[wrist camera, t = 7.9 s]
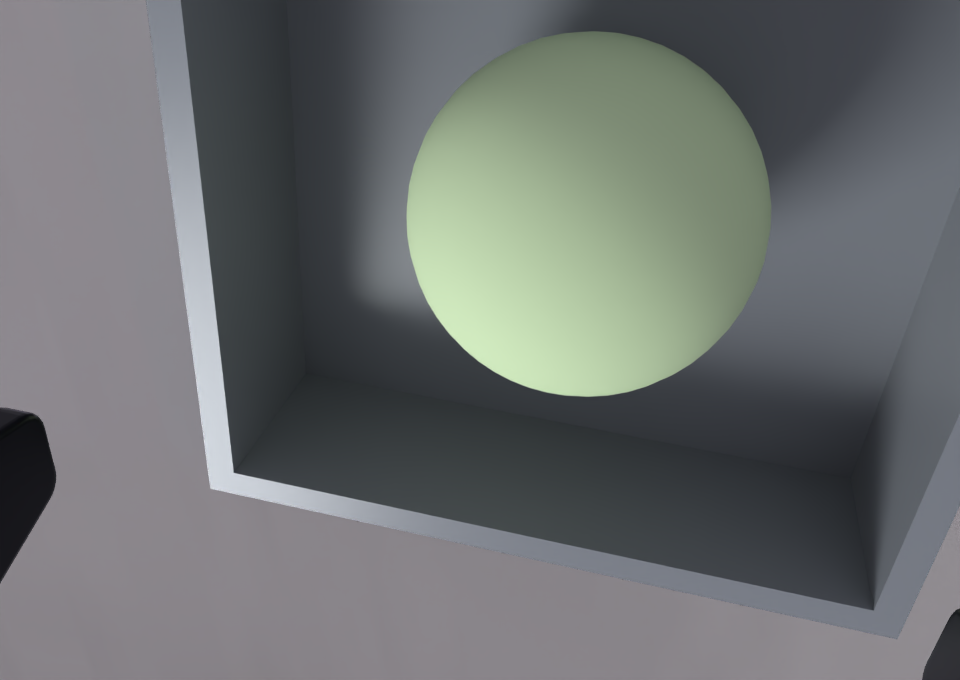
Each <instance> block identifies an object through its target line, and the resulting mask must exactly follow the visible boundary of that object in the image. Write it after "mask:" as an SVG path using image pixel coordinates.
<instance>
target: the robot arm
mask: <svg viewBox="0 0 960 680" xmlns="http://www.w3.org/2000/svg"><path fill="white" fill-rule="evenodd" d="M55 483H56V471H55V466H54V463H53V459H52V455H51V451H50V447H49V443H48V439H47V435H46V431H45V427H44V424H43V422H42V421H41V419H40V418H39V417H38V416H37V415H35V414H33V413H29V412H25V411H20V410H15V409H10V408H0V583H1V581H2V579H3V578H4V576H5V574H6V573H7V571H8V569H9V567H10V566H11V564H12V562H13V561H14V559H15V557H16V556H17V554H18V552H19V551H20V549H21V547H22V546H23V544H24V542H25V540H26V539H27V537H28V535H29V534H30V532H31V530H32V529H33V527H34V525H35V524H36V522H37V520H38V519H39V517H40V515H41V514H42V512H43V510H44V508H45V507H46V505H47V503H48V502H49V500H50V498H51V496H52V494H53V491H54V488H55ZM922 680H960V609H957V610H956V611H955V612H954V613H953V614H952V615H951V617H950V618H949V620H948V622H947V624H946V626H945V628H944V630H943V632H942V634H941V636H940V638H939V640H938V642H937V644H936V646H935V648H934V650H933V652H932V654H931V656H930V658H929V660H928V662H927V664H926V666H925V669H924V673H923V678H922Z"/></svg>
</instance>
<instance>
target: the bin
mask: <svg viewBox="0 0 960 680" xmlns="http://www.w3.org/2000/svg"><path fill="white" fill-rule="evenodd" d="M146 5H147V12H148V20H149V28H150V35H151V43H152V50H153V58H154V65H155V73H156V81H157V88H158V96H159V103H160V111H161V118H162V126H163V134H164V141H165V149H166V156H167V164H168V171H169V179H170V187H171V194H172V202H173V209H174V217H175V224H176V232H177V240H178V247H179V255H180V262H181V270H182V277H183V285H184V293H185V300H186V308H187V315H188V323H189V330H190V338H191V346H192V353H193V361H194V368H195V376H196V383H197V391H198V399H199V406H200V414H201V421H202V429H203V436H204V444H205V452H206V459H207V467H208V474H209V482H210V489H215V490H219V491H224V492H228V493H233V494H237V495H242V496H247V497H251V498H256V499H260V500H265V501H269V502H274V503H278V504H283V505H288V506H292V507H297V508H301V509H306V510H310V511H315V512H319V513H324V514H329V515H333V516H338V517H342V518H347V519H351V520H356V521H361V522H365V523H370V524H374V525H379V526H383V527H388V528H392V529H397V530H402V531H406V532H411V533H415V534H420V535H424V536H429V537H433V538H438V539H443V540H447V541H452V542H456V543H461V544H465V545H470V546H474V547H479V548H484V549H488V550H493V551H497V552H502V553H506V554H511V555H516V556H520V557H525V558H529V559H534V560H538V561H543V562H547V563H552V564H557V565H561V566H566V567H570V568H575V569H579V570H584V571H588V572H593V573H598V574H602V575H607V576H611V577H616V578H620V579H625V580H630V581H634V582H639V583H643V584H648V585H652V586H657V587H661V588H666V589H671V590H675V591H680V592H684V593H689V594H693V595H698V596H702V597H707V598H712V599H716V600H721V601H725V602H730V603H734V604H739V605H744V606H748V607H753V608H757V609H762V610H766V611H771V612H775V613H780V614H785V615H789V616H794V617H798V618H803V619H807V620H812V621H816V622H821V623H826V624H830V625H835V626H839V627H844V628H848V629H853V630H857V631H862V632H867V633H871V634H876V635H880V636H885V637H889V638H894V639H898V636H899V634H900V632H901V630H902V628H903V626H904V624H905V622H906V619H907V617H908V615H909V613H910V611H911V609H912V607H913V604H914V602H915V600H916V598H917V596H918V594H919V592H920V590H921V587H922V585H923V583H924V581H925V579H926V577H927V575H928V572H929V570H930V568H931V566H932V564H933V562H934V560H935V557H936V555H937V553H938V551H939V549H940V547H941V545H942V543H943V540H944V538H945V536H946V534H947V532H948V530H949V528H950V525H951V523H952V521H953V519H954V517H955V515H956V513H957V510H958V508H959V506H960V0H146ZM588 31H599V32H613V33H621V34H626V35H630V36H635V37H640V38H643V39H646V40H649V41H652V42H654V43H657V44H660V45H663V46H665V47H667V48H669V49H671V50H673V51H675V52H677V53H679V54H681V55H683V56H684V57H686V58H687V59H689V60H690V61H692V62H693V63H695V64H696V65H697V66H699V67H700V68H702V69H703V70H704V71H706V72H707V73H708V74H709V75H710V76H711V77H712V78H713V79H714V80H715V81H716V82H717V83H718V84H719V85H721V86H722V88H723V89H724V90H725V91H726V92H727V94H728V95H729V96H730V97H731V99H732V100H733V101H734V102H735V104H736V105H737V106H738V107H739V108H740V110H741V112H742V113H743V115H744V117H745V118H746V120H747V122H748V123H749V125H750V127H751V128H752V130H753V132H754V135H755V137H756V140H757V142H758V144H759V147H760V149H761V152H762V155H763V159H764V163H765V167H766V171H767V175H768V180H769V188H770V198H771V229H770V234H769V240H768V245H767V250H766V255H765V261H764V264H763V267H762V270H761V272H760V275H759V278H758V281H757V283H756V285H755V287H754V289H753V291H752V293H751V295H750V297H749V299H748V301H747V303H746V304H745V306H744V308H743V310H742V312H741V313H740V314H739V316H738V317H737V319H736V320H735V321H734V323H733V324H732V325H731V327H730V328H729V329H728V331H727V332H726V333H725V334H724V335H723V336H722V337H721V338H720V339H719V340H718V341H717V342H716V343H715V344H714V345H713V346H712V347H711V348H710V349H709V350H708V351H707V352H705V353H704V354H703V355H702V356H700V357H699V358H698V359H697V360H695V361H694V362H693V363H692V364H690V365H688V366H687V367H685V368H683V369H682V370H680V371H678V372H677V373H675V374H673V375H671V376H669V377H667V378H665V379H662V380H660V381H658V382H656V383H653V384H651V385H649V386H646V387H643V388H640V389H636V390H633V391H630V392H625V393H620V394H614V395H608V396H591V397H585V396H566V395H559V394H553V393H547V392H543V391H539V390H536V389H532V388H529V387H526V386H523V385H521V384H518V383H516V382H513V381H511V380H509V379H507V378H505V377H503V376H501V375H499V374H497V373H495V372H494V371H492V370H491V369H489V368H488V367H486V366H485V365H483V364H482V363H480V362H479V361H478V360H476V359H475V358H474V357H473V356H472V355H470V354H469V353H468V352H467V351H466V350H464V349H463V347H462V346H461V345H460V344H459V343H458V342H457V341H456V340H455V339H454V338H453V337H452V336H451V335H450V334H449V333H448V331H447V330H446V329H445V328H444V326H443V325H442V324H441V322H440V321H439V320H438V318H437V317H436V315H435V314H434V312H433V310H432V309H431V307H430V305H429V304H428V302H427V300H426V298H425V296H424V293H423V291H422V289H421V287H420V285H419V282H418V279H417V275H416V272H415V269H414V266H413V262H412V259H411V255H410V249H409V243H408V237H407V201H408V190H409V183H410V179H411V175H412V171H413V166H414V163H415V161H416V158H417V155H418V153H419V150H420V147H421V145H422V142H423V140H424V137H425V135H426V133H427V131H428V130H429V128H430V126H431V124H432V123H433V121H434V119H435V117H436V116H437V114H438V113H439V112H440V111H441V109H442V108H443V107H444V105H445V104H446V103H447V102H448V100H449V99H450V98H451V96H452V95H453V94H454V93H455V91H456V90H457V89H458V88H459V87H460V86H461V85H462V84H463V83H464V82H465V81H467V80H468V79H469V78H470V77H471V76H472V75H473V74H474V73H476V72H477V71H478V70H480V69H481V68H483V67H484V66H485V65H487V64H488V63H489V62H491V61H492V60H494V59H496V58H497V57H499V56H501V55H503V54H505V53H507V52H508V51H510V50H512V49H514V48H516V47H518V46H520V45H523V44H526V43H529V42H531V41H534V40H537V39H540V38H544V37H548V36H553V35H558V34H563V33H573V32H588Z"/></svg>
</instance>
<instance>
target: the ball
mask: <svg viewBox="0 0 960 680" xmlns="http://www.w3.org/2000/svg"><path fill="white" fill-rule="evenodd" d="M770 229H771V198H770V188H769V180H768V175H767V171H766V167H765V163H764V159H763V155H762V152H761V149H760V147H759V144H758V142H757V140H756V137H755V135H754V132H753V130H752V128H751V127H750V125H749V123H748V122H747V120H746V118H745V117H744V115H743V113H742V112H741V110H740V108H739V107H738V106H737V105H736V104H735V102H734V101H733V100H732V99H731V97H730V96H729V95H728V94H727V92H726V91H725V90H724V89H723V88H722V86H721V85H719V84H718V83H717V82H716V81H715V80H714V79H713V78H712V77H711V76H710V75H709V74H708V73H707V72H706V71H704V70H703V69H702V68H700V67H699V66H697V65H696V64H695V63H693V62H692V61H690V60H689V59H687V58H686V57H684V56H683V55H681V54H679V53H677V52H675V51H673V50H671V49H669V48H667V47H665V46H663V45H660V44H657V43H654V42H652V41H649V40H646V39H643V38H640V37H635V36H630V35H626V34H621V33H613V32H599V31H588V32H573V33H563V34H558V35H553V36H548V37H544V38H540V39H537V40H534V41H531V42H529V43H526V44H523V45H520V46H518V47H516V48H514V49H512V50H510V51H508V52H507V53H505V54H503V55H501V56H499V57H497V58H496V59H494V60H492V61H491V62H489V63H488V64H487V65H485V66H484V67H483V68H481V69H480V70H478V71H477V72H476V73H474V74H473V75H472V76H471V77H470V78H469V79H468V80H467V81H465V82H464V83H463V84H462V85H461V86H460V87H459V88H458V89H457V90H456V91H455V93H454V94H453V95H452V96H451V98H450V99H449V100H448V102H447V103H446V104H445V105H444V107H443V108H442V109H441V111H440V112H439V113H438V114H437V116H436V117H435V119H434V121H433V123H432V124H431V126H430V128H429V130H428V131H427V133H426V135H425V137H424V140H423V142H422V145H421V147H420V150H419V153H418V155H417V158H416V161H415V163H414V166H413V171H412V175H411V179H410V183H409V190H408V201H407V237H408V243H409V249H410V255H411V259H412V262H413V266H414V269H415V272H416V275H417V279H418V282H419V285H420V287H421V289H422V291H423V293H424V296H425V298H426V300H427V302H428V304H429V305H430V307H431V309H432V310H433V312H434V314H435V315H436V317H437V318H438V320H439V321H440V322H441V324H442V325H443V326H444V328H445V329H446V330H447V331H448V333H449V334H450V335H451V336H452V337H453V338H454V339H455V340H456V341H457V342H458V343H459V344H460V345H461V346H462V347H463V349H464V350H466V351H467V352H468V353H469V354H470V355H472V356H473V357H474V358H475V359H476V360H478V361H479V362H480V363H482V364H483V365H485V366H486V367H488V368H489V369H491V370H492V371H494V372H495V373H497V374H499V375H501V376H503V377H505V378H507V379H509V380H511V381H513V382H516V383H518V384H521V385H523V386H526V387H529V388H532V389H536V390H539V391H543V392H547V393H553V394H559V395H566V396H585V397H591V396H608V395H614V394H620V393H625V392H630V391H633V390H636V389H640V388H643V387H646V386H649V385H651V384H653V383H656V382H658V381H660V380H662V379H665V378H667V377H669V376H671V375H673V374H675V373H677V372H678V371H680V370H682V369H683V368H685V367H687V366H688V365H690V364H692V363H693V362H694V361H695V360H697V359H698V358H699V357H700V356H702V355H703V354H704V353H705V352H707V351H708V350H709V349H710V348H711V347H712V346H713V345H714V344H715V343H716V342H717V341H718V340H719V339H720V338H721V337H722V336H723V335H724V334H725V333H726V332H727V331H728V329H729V328H730V327H731V325H732V324H733V323H734V321H735V320H736V319H737V317H738V316H739V314H740V313H741V312H742V310H743V308H744V306H745V304H746V303H747V301H748V299H749V297H750V295H751V293H752V291H753V289H754V287H755V285H756V283H757V281H758V278H759V275H760V272H761V270H762V267H763V264H764V261H765V255H766V250H767V245H768V240H769V234H770Z"/></svg>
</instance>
